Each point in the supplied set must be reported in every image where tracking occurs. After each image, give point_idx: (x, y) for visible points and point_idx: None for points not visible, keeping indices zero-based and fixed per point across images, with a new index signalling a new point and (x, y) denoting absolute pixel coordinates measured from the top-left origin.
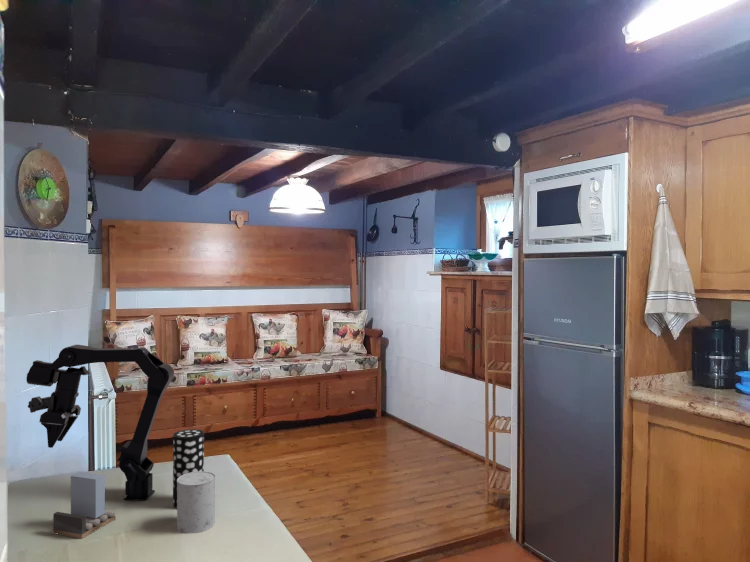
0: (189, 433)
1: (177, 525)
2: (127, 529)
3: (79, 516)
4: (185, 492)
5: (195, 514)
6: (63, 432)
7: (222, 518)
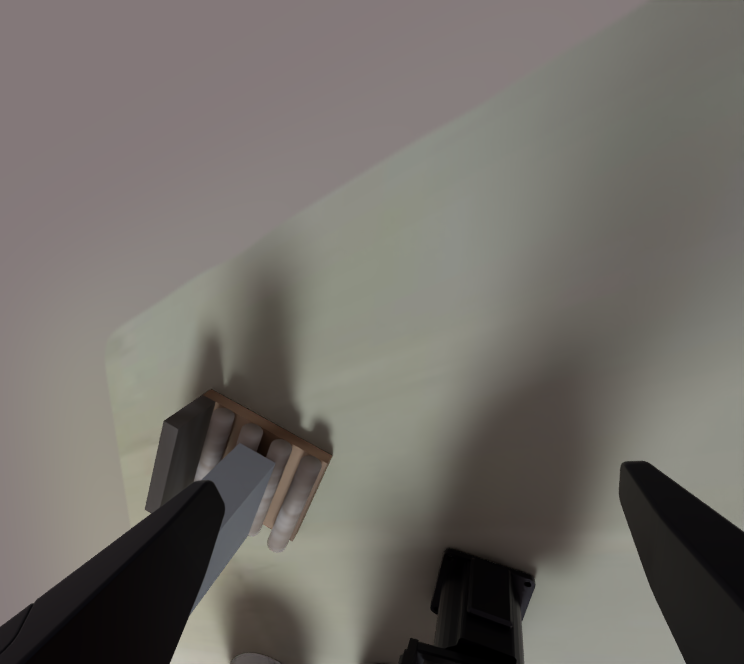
0: None
1: (244, 662)
2: (242, 561)
3: (156, 500)
4: None
5: None
6: (698, 639)
7: None
